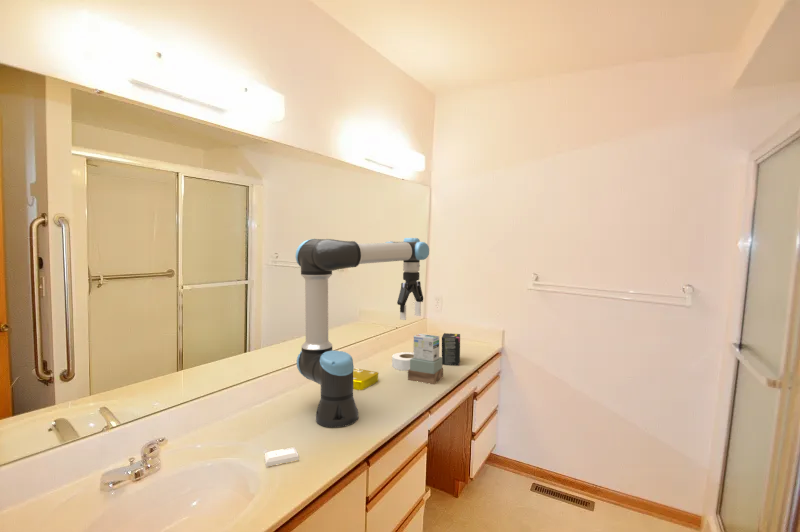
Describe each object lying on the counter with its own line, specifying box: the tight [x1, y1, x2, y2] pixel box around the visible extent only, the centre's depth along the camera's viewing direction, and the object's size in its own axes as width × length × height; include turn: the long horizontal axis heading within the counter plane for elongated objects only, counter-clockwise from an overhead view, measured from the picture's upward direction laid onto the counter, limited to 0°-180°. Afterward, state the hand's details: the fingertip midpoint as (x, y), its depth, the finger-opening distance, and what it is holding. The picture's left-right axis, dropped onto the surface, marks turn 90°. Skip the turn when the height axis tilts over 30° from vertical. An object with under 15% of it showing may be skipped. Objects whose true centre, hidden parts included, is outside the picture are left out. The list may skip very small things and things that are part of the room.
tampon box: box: [441, 332, 461, 367], centre depth 215 cm, size 11×9×15 cm
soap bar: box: [264, 446, 300, 468], centre depth 118 cm, size 5×9×3 cm, turn 114°
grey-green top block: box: [410, 356, 443, 374], centre depth 189 cm, size 10×12×5 cm
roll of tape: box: [391, 351, 414, 372], centre depth 209 cm, size 16×16×6 cm
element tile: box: [353, 367, 379, 391], centre depth 184 cm, size 15×15×5 cm
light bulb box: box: [413, 333, 440, 361], centre depth 189 cm, size 11×7×11 cm, turn 59°
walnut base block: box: [407, 367, 444, 385], centre depth 189 cm, size 11×13×5 cm
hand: (410, 317), depth 187 cm, fingers open, 13 cm apart
